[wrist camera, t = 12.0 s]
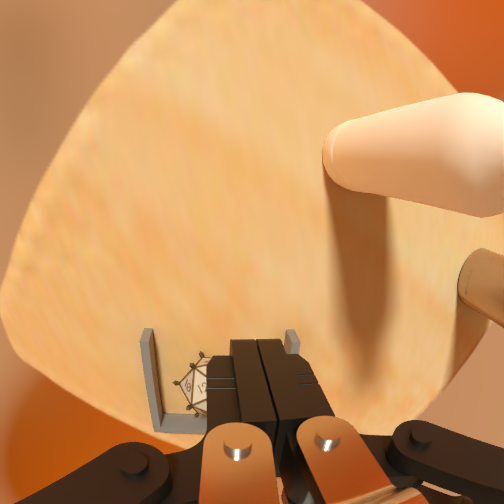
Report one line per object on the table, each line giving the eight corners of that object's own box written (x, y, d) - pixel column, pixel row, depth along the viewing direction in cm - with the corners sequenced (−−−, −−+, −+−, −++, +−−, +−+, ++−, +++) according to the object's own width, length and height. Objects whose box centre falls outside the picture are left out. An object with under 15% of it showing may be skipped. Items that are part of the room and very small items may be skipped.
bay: (294, 329, 38) (300, 341, 35) (281, 416, 41) (285, 430, 38) (144, 328, 35) (139, 340, 32) (156, 417, 39) (154, 431, 36)
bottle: (372, 199, 35) (623, 283, 6) (312, 178, 33) (600, 240, 4) (389, 136, 33) (638, 134, 4) (331, 111, 32) (595, 34, 3)
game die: (224, 359, 42) (252, 424, 36) (164, 372, 38) (189, 442, 32) (240, 326, 36) (276, 403, 30) (168, 339, 32) (198, 426, 26)
